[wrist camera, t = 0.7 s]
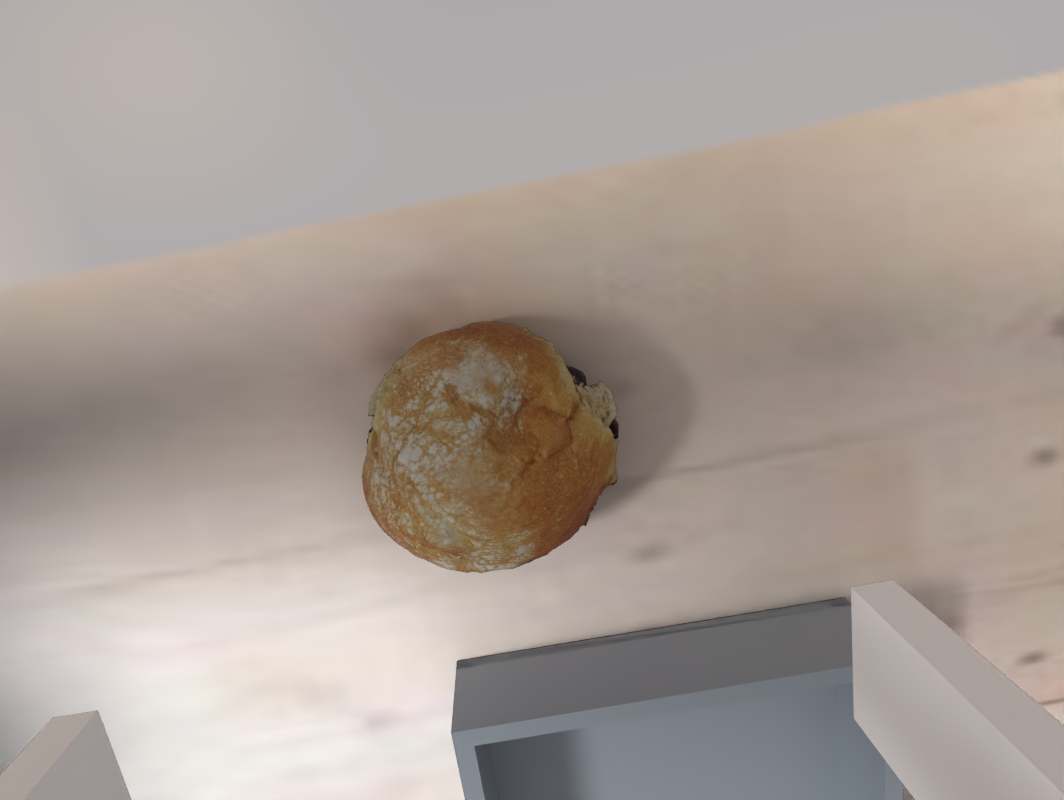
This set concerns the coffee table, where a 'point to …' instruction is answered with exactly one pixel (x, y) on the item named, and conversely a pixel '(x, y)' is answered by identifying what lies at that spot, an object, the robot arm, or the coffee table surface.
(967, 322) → the coffee table surface
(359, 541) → the coffee table surface
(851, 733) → the grey tray
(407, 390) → the bread roll
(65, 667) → the coffee table surface
